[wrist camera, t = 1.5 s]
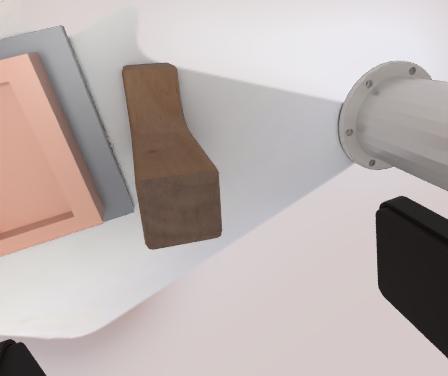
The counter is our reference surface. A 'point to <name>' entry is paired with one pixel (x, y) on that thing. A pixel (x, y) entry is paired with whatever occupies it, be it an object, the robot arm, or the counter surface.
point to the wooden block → (169, 162)
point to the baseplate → (77, 111)
